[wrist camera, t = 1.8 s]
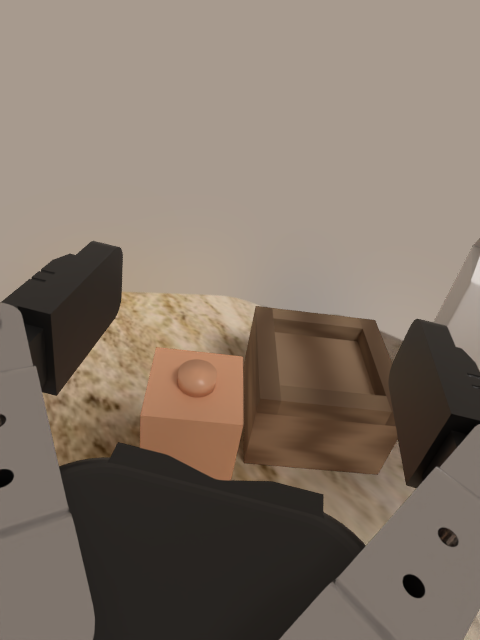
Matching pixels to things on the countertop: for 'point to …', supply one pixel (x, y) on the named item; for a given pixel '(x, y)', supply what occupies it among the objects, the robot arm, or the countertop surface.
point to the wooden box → (317, 392)
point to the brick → (194, 409)
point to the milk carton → (465, 306)
